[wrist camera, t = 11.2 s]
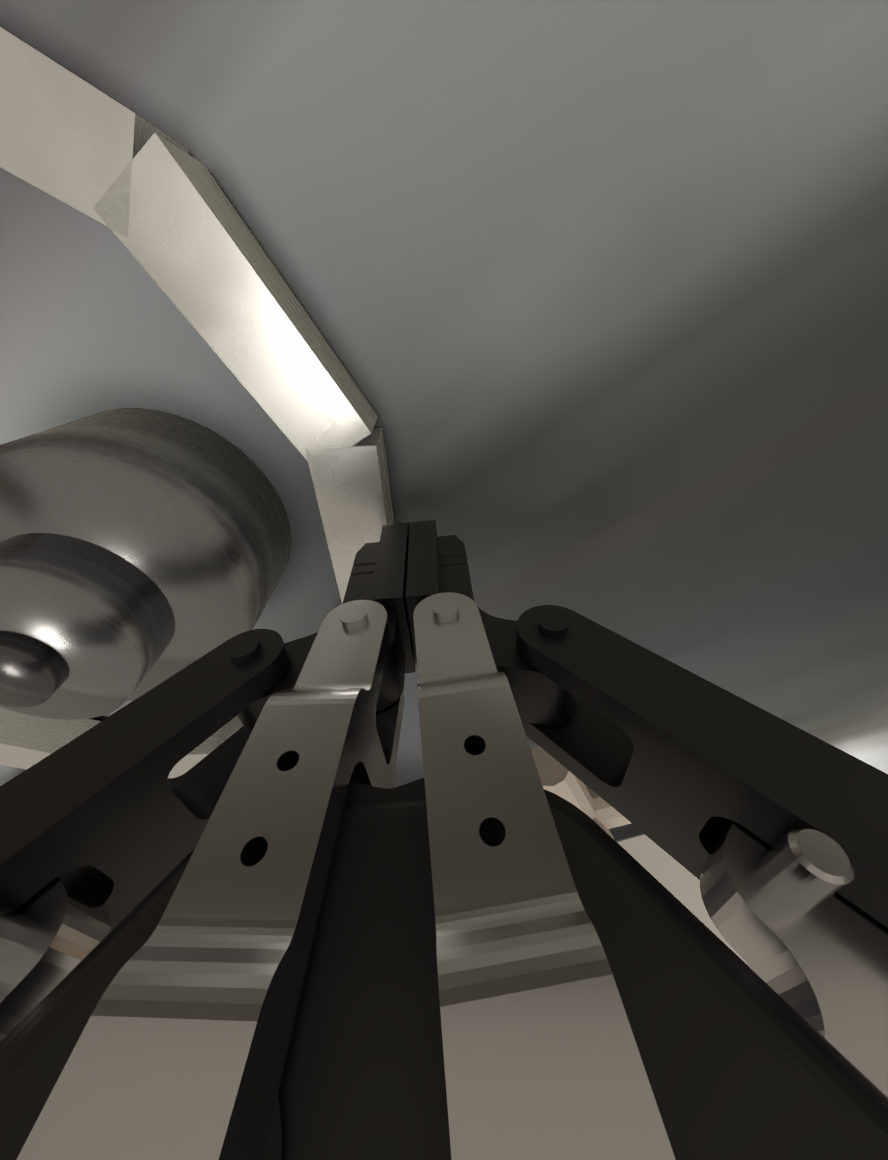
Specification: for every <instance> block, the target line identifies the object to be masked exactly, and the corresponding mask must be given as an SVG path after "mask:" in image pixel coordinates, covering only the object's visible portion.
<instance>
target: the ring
mask: <svg viewBox="0 0 888 1160" xmlns="http://www.w3.org/2000/svg"><path fill="white" fill-rule="evenodd" d="M0 167H1V168H2V169H4V170H6V171H8V172H10V173H12V174H13V175H15V176H17V177H19V178H21V179H22V180H24V181H26V182H28V183H30V184H31V185H33V186H35V187H37V188H39V189H40V190H42V191H44V192H46V193H48V194H49V195H51V196H53V197H55V198H57V199H59V200H60V201H62V202H64V203H66V204H68V205H69V206H71V207H73V208H75V209H77V210H78V211H80V212H82V213H84V214H86V215H87V216H89V217H91V218H93V219H95V220H96V221H98V222H100V223H102V224H104V225H106V226H107V227H109V228H110V229H111V230H112V231H113V233H114V234H115V235H116V236H117V237H118V238H119V240H120V241H121V242H122V243H123V244H124V246H125V247H126V248H127V249H128V250H129V251H130V253H131V254H132V255H133V256H134V257H135V259H136V260H137V261H138V262H139V263H140V264H141V266H142V267H143V268H144V269H145V270H146V271H147V273H148V274H149V275H150V276H151V277H152V279H153V280H154V281H155V282H156V283H157V284H158V286H159V287H160V288H161V289H162V290H163V292H164V293H165V294H166V295H167V296H168V297H169V299H170V300H171V301H172V302H173V303H174V304H175V306H176V307H177V308H178V309H179V310H180V312H181V313H182V314H183V315H184V316H185V317H186V319H187V320H188V321H189V322H190V323H191V324H192V326H193V327H194V328H195V329H196V330H197V332H198V333H199V334H200V335H201V336H202V337H203V339H204V340H205V341H206V342H207V343H208V345H209V346H210V347H211V348H212V349H213V350H214V352H215V353H216V354H217V355H218V356H219V357H220V359H221V360H222V361H223V362H224V363H225V365H226V366H227V367H228V368H229V369H230V370H231V372H232V373H233V374H234V375H235V376H236V378H237V379H238V380H239V381H240V382H241V383H242V385H243V386H244V387H245V388H246V389H247V390H248V392H249V393H250V394H251V395H252V396H253V398H254V399H255V400H256V401H257V402H258V403H259V405H260V406H261V407H262V408H263V409H264V411H265V412H266V413H267V414H268V415H269V416H270V418H271V419H272V420H273V421H274V422H275V423H276V425H277V426H278V427H279V428H280V429H281V431H282V432H283V433H284V434H285V435H286V436H287V438H288V439H289V440H290V441H291V442H292V444H293V445H294V446H295V447H296V448H297V449H298V451H299V452H300V453H301V454H302V455H303V456H304V458H305V459H306V460H307V461H308V464H309V469H310V473H311V477H312V481H313V485H314V489H315V494H316V498H317V502H318V506H319V510H320V514H321V519H322V523H323V527H324V531H325V535H326V539H327V544H328V548H329V552H330V556H331V560H332V564H333V568H334V573H335V577H336V581H337V585H338V589H339V593H340V598H341V602H342V603H343V600H344V596H345V592H346V589H347V585H348V581H349V578H350V576H351V570H352V567H353V563H354V559H355V556H356V553H357V552H358V551H359V550H360V549H361V548H362V547H363V546H364V545H365V544H366V543H373V542H380V536H381V531H382V526H383V525H385V524H394V516H393V508H392V500H391V492H390V484H389V476H388V468H387V460H386V452H385V444H384V436H383V428H374V425H375V423H376V421H377V418H378V415H377V414H376V413H375V411H374V410H373V408H372V407H371V405H370V404H369V402H368V401H367V400H366V398H365V397H364V395H363V394H362V392H361V391H360V389H359V388H358V386H357V385H356V384H355V382H354V381H353V379H352V378H351V376H350V375H349V373H348V372H347V371H346V369H345V368H344V366H343V365H342V363H341V362H340V360H339V359H338V358H337V356H336V355H335V353H334V352H333V350H332V349H331V347H330V346H329V345H328V343H327V342H326V340H325V339H324V337H323V336H322V334H321V333H320V332H319V330H318V329H317V327H316V326H315V324H314V323H313V321H312V320H311V319H310V317H309V316H308V314H307V313H306V311H305V310H304V308H303V307H302V306H301V304H300V303H299V301H298V300H297V298H296V297H295V295H294V294H293V293H292V291H291V290H290V288H289V287H288V285H287V284H286V282H285V281H284V280H283V278H282V277H281V275H280V274H279V272H278V271H277V269H276V268H275V267H274V265H273V264H272V262H271V261H270V259H269V258H268V256H267V255H266V254H265V252H264V251H263V249H262V248H261V246H260V245H259V243H258V242H257V241H256V239H255V238H254V236H253V235H252V233H251V232H250V230H249V229H248V228H247V226H246V225H245V223H244V222H243V220H242V219H241V217H240V216H239V215H238V213H237V212H236V210H235V209H234V207H233V206H232V204H231V203H230V201H229V200H228V199H227V197H226V196H225V194H224V193H223V191H222V190H221V188H220V187H219V186H218V184H217V183H216V181H215V180H214V178H213V177H212V175H211V174H210V173H209V171H208V170H207V168H206V167H205V165H204V164H203V163H201V162H200V161H198V160H197V159H195V158H194V157H192V156H190V155H189V154H188V148H186V147H185V146H183V145H182V144H180V143H179V142H177V141H176V140H174V139H173V138H171V137H170V136H168V135H167V134H165V133H164V132H162V131H161V130H159V129H158V128H156V127H155V126H153V125H152V124H150V123H149V122H147V121H146V120H144V119H143V118H141V117H140V116H138V115H137V114H135V113H134V112H132V111H131V110H129V109H128V108H126V107H125V106H123V105H121V104H120V103H118V102H117V101H115V100H114V99H112V98H110V97H109V96H107V95H106V94H104V93H103V92H101V91H100V90H98V89H96V88H95V87H93V86H92V85H90V84H89V83H87V82H85V81H84V80H82V79H81V78H79V77H78V76H76V75H75V74H73V73H71V72H70V71H68V70H67V69H65V68H64V67H62V66H61V65H59V64H57V63H56V62H54V61H53V60H51V59H50V58H48V57H46V56H45V55H43V54H42V53H40V52H39V51H37V50H36V49H34V48H32V47H31V46H29V45H28V44H26V43H25V42H23V41H21V40H20V39H18V38H17V37H15V36H14V35H12V34H11V33H9V32H7V31H6V30H4V29H3V28H1V27H0ZM100 722H101V721H97V720H92V719H75V720H65V719H51V718H43V717H38V716H32V715H27V714H23V713H19V712H15V711H12V710H9V709H5V708H2V707H0V765H5V766H11V767H16V768H22V769H28V768H30V767H32V766H33V765H35V764H36V763H38V762H39V761H41V760H42V759H44V758H45V757H47V756H49V755H50V754H52V753H53V752H55V751H56V750H58V749H59V748H61V747H63V746H64V745H66V744H67V743H69V742H70V741H72V740H73V739H75V738H77V737H78V736H80V735H81V734H83V733H84V732H86V731H87V730H89V729H91V728H92V727H94V726H95V725H97V724H98V723H100ZM242 726H243V724H242V723H241V721H240V719H239V718H238V716H236V717H234V718H233V719H232V720H231V721H229V722H228V723H227V724H225V725H224V726H223V727H222V728H220V729H219V730H218V731H217V732H215V733H214V734H213V735H212V736H210V737H209V738H208V739H206V740H205V741H204V742H203V743H201V744H200V745H199V746H198V747H196V748H195V749H194V750H193V751H191V752H190V753H189V754H187V755H186V756H185V757H184V758H182V759H181V760H180V761H179V762H178V763H177V764H176V765H175V766H174V767H173V769H172V770H171V772H170V773H169V776H168V778H176V777H179V776H181V775H183V774H184V773H186V772H187V771H189V770H190V769H191V768H192V767H194V766H195V765H196V764H197V763H198V762H200V761H201V760H202V759H203V758H205V757H206V756H207V755H208V754H209V753H211V752H212V751H213V750H214V749H216V748H217V747H218V746H219V745H220V744H222V743H223V742H224V741H225V740H227V739H228V738H229V737H230V736H231V735H233V734H234V733H235V732H236V731H238V730H239V729H240V728H241V727H242Z"/></svg>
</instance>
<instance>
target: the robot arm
mask: <svg viewBox="0 0 888 1160" xmlns="http://www.w3.org/2000/svg"><path fill="white" fill-rule="evenodd" d="M415 662H416V663H417V669H418V678H419V684H417V691H418V705H419V717H420V730H421V743H422V755H423V768H424V778H422V779H419V780H416V781H413V782H410V783H408V784H405V785H402V786H399V787H396V788H395V787H394V776H395V766H396V759H397V751H398V744H399V737H400V729H401V722H402V715H403V708H404V694H403V689H404V677H405V673H411V672H415ZM236 716H238V718H239V719H240V721H241V723H242V724H243V726H242V727H241V728H240V729H239V730H238V731H236V732H235V733H234V734H233V735H231V736H230V737H229V738H228V739H227V740H225V741H224V742H223V743H222V744H220V745H219V746H218V747H217V748H216V749H214V750H213V751H212V752H211V753H209V754H208V755H207V756H206V757H205V758H203V759H202V760H201V761H200V762H198V763H197V764H196V765H195V766H194V767H192V768H191V769H190V770H189V771H187V772H186V773H184V774H183V775H181V776H179V777H176V778H168V776H169V773H170V772H171V770H172V769H173V767H174V766H175V765H176V764H177V763H178V762H179V761H180V760H181V759H182V758H184V757H185V756H186V755H187V754H189V753H190V752H191V751H193V750H194V749H195V748H196V747H198V746H199V745H200V744H201V743H203V742H204V741H205V740H206V739H208V738H209V737H210V736H212V735H213V734H214V733H215V732H217V731H218V730H219V729H220V728H222V727H223V726H224V725H225V724H227V723H228V722H229V721H231V720H232V719H233V718H234V717H236ZM526 735H527V736H528V737H529V738H530V739H531V740H533V741H534V742H535V743H536V744H537V745H539V746H540V747H541V748H542V749H543V750H545V751H546V752H547V753H548V754H549V755H551V756H552V757H553V758H554V759H555V760H557V761H558V762H559V763H560V764H561V765H563V766H564V767H565V768H566V769H567V770H569V771H570V772H571V773H572V774H573V775H575V776H576V777H577V778H578V779H579V780H581V781H582V782H583V783H584V784H585V785H587V786H588V787H589V788H590V789H591V790H593V791H594V792H595V793H596V794H597V795H599V796H600V797H601V798H602V799H603V800H605V801H606V802H607V803H608V804H609V805H611V806H612V807H613V808H614V809H615V810H617V811H618V812H619V813H620V814H621V815H622V816H624V817H625V818H626V819H627V820H628V821H630V822H631V823H632V824H633V825H634V826H636V827H637V828H638V829H639V830H640V831H642V832H643V833H644V834H645V835H646V836H648V837H649V838H650V839H651V840H653V841H654V842H655V843H656V844H657V845H658V846H660V847H661V848H662V849H663V850H665V851H666V852H667V853H668V854H669V855H671V856H672V857H673V858H674V859H675V860H676V861H678V862H679V863H680V864H681V865H683V866H684V867H685V868H686V869H687V870H688V871H690V872H691V873H692V874H693V875H694V876H696V877H697V878H698V879H699V880H700V889H701V895H702V899H703V902H704V905H705V907H706V910H707V912H708V914H709V916H710V918H711V920H712V921H713V923H714V925H715V926H716V928H717V929H718V931H719V932H720V933H721V934H722V936H723V937H724V938H725V940H726V941H727V942H728V943H729V944H730V945H731V946H732V947H733V948H734V949H735V950H736V951H737V952H738V954H739V955H740V956H742V958H743V959H744V960H745V961H746V963H747V964H748V965H749V966H748V965H747V964H745V963H744V962H743V961H742V960H741V959H740V958H739V957H738V956H737V955H736V954H735V953H734V952H733V951H732V950H731V949H729V948H728V947H727V946H726V945H725V944H724V943H723V942H722V941H721V940H720V939H719V938H718V937H717V936H716V935H715V934H714V933H712V932H711V931H710V930H709V929H708V928H707V927H706V926H705V925H704V924H703V923H702V922H701V921H700V920H698V918H697V917H695V915H693V914H692V913H691V912H690V911H689V910H688V909H687V908H686V907H685V906H684V905H683V904H682V903H681V902H680V901H679V900H678V899H676V898H675V897H674V896H673V895H672V894H671V893H670V892H669V891H668V890H667V889H666V888H665V887H664V886H663V885H662V884H661V883H659V882H658V881H657V880H656V879H655V878H654V877H653V876H652V875H651V874H650V873H649V872H648V871H647V870H646V869H645V868H644V867H642V866H641V865H640V864H639V863H638V862H637V861H636V860H635V859H634V858H633V857H632V856H631V855H630V854H629V853H628V852H627V851H626V850H624V849H623V848H622V847H621V846H620V845H619V844H618V843H617V842H616V841H615V840H614V839H613V838H612V837H611V836H610V835H609V834H607V833H606V832H605V831H604V830H603V829H602V828H601V827H600V826H599V825H598V824H597V823H596V822H595V821H594V820H592V819H591V818H590V817H589V816H588V815H587V814H585V813H584V812H583V811H581V810H580V809H579V808H577V807H576V806H575V805H573V804H572V803H570V802H568V801H567V800H565V799H563V798H562V797H560V796H558V795H556V794H554V793H552V792H550V791H548V790H545V789H543V786H542V783H541V780H540V776H539V773H538V770H537V767H536V764H535V761H534V758H533V755H532V752H531V749H530V746H529V743H528V740H527V737H526ZM0 1160H888V774H886V773H884V772H882V771H880V770H878V769H876V768H874V767H872V766H870V765H869V764H867V763H865V762H863V761H861V760H859V759H857V758H855V757H853V756H851V755H849V754H847V753H845V752H844V751H842V750H840V749H838V748H836V747H834V746H832V745H830V744H828V743H826V742H824V741H822V740H820V739H819V738H817V737H815V736H813V735H811V734H809V733H807V732H805V731H803V730H801V729H799V728H797V727H795V726H794V725H792V724H790V723H788V722H786V721H784V720H782V719H780V718H778V717H776V716H774V715H772V714H770V713H768V712H767V711H765V710H763V709H761V708H759V707H757V706H755V705H753V704H751V703H749V702H747V701H745V700H743V699H742V698H740V697H738V696H736V695H734V694H732V693H730V692H728V691H726V690H724V689H722V688H720V687H718V686H717V685H715V684H713V683H711V682H709V681H707V680H705V679H703V678H701V677H699V676H697V675H695V674H693V673H692V672H690V671H688V670H686V669H684V668H682V667H680V666H678V665H676V664H674V663H672V662H670V661H668V660H667V659H665V658H663V657H661V656H659V655H657V654H655V653H653V652H651V651H649V650H647V649H645V648H643V647H641V646H640V645H638V644H636V643H634V642H632V641H630V640H628V639H626V638H624V637H622V636H620V635H618V634H616V633H615V632H613V631H611V630H609V629H607V628H605V627H603V626H601V625H599V624H597V623H595V622H593V621H591V620H590V619H588V618H586V617H584V616H582V615H580V614H578V613H576V612H574V611H572V610H570V609H567V608H564V607H560V606H553V605H543V606H537V607H533V608H531V609H529V610H527V611H525V612H524V613H523V614H522V615H521V616H520V617H519V619H518V621H513V620H506V619H501V618H496V617H493V616H491V615H489V614H487V613H485V612H483V611H482V610H481V609H480V608H479V607H478V606H477V604H476V603H475V601H474V598H473V592H472V587H471V581H470V575H469V569H468V564H467V558H466V552H465V546H464V543H463V542H462V541H461V540H460V539H459V538H457V537H456V536H455V535H452V536H441V537H437V531H436V521H435V520H429V521H418V522H410V526H409V523H396V524H385V525H383V526H382V531H381V536H380V542H373V543H366V544H365V545H364V546H363V547H362V548H361V549H360V550H359V551H358V552H357V553H356V556H355V559H354V563H353V567H352V570H351V576H350V578H349V581H348V585H347V589H346V592H345V596H344V600H343V603H342V604H341V605H339V606H337V607H336V608H334V609H333V610H331V611H330V612H329V613H328V614H327V615H326V617H325V618H324V620H323V622H322V624H321V626H320V629H319V631H318V632H317V633H315V634H313V635H310V636H307V637H304V638H300V639H297V640H294V641H291V642H288V643H284V642H283V639H282V637H281V636H280V634H278V633H277V632H275V631H273V630H269V629H255V630H250V631H246V632H243V633H241V634H238V635H236V636H234V637H232V638H230V639H229V640H227V641H226V642H224V643H222V644H221V645H219V646H218V647H216V648H215V649H213V650H212V651H210V652H208V653H207V654H205V655H204V656H202V657H201V658H199V659H198V660H196V661H194V662H193V663H191V664H190V665H188V666H187V667H185V668H184V669H182V670H181V671H179V672H177V673H176V674H174V675H173V676H171V677H170V678H168V679H167V680H165V681H163V682H162V683H160V684H159V685H157V686H156V687H154V688H153V689H151V690H149V691H148V692H146V693H145V694H143V695H142V696H140V697H139V698H137V699H136V700H134V701H132V702H131V703H129V704H128V705H126V706H125V707H123V708H122V709H120V710H118V711H117V712H115V713H114V714H112V715H111V716H109V717H108V718H106V719H104V720H103V721H101V722H100V723H98V724H97V725H95V726H94V727H92V728H91V729H89V730H87V731H86V732H84V733H83V734H81V735H80V736H78V737H77V738H75V739H73V740H72V741H70V742H69V743H67V744H66V745H64V746H63V747H61V748H59V749H58V750H56V751H55V752H53V753H52V754H50V755H49V756H47V757H45V758H44V759H42V760H41V761H39V762H38V763H36V764H35V765H33V766H32V767H30V768H28V769H27V770H25V771H24V772H22V773H21V774H19V775H18V776H16V777H14V778H13V779H11V780H10V781H8V782H7V783H5V784H4V785H2V786H0Z"/></svg>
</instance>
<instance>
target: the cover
mask: <svg viewBox="0 0 888 1160" xmlns="http://www.w3.org/2000/svg"><path fill="white" fill-rule="evenodd" d="M290 547H291V535H290V526H289V522H288V519H287V515H286V512H285V509H284V507H283V505H282V502H281V500H280V498H279V496H278V495H277V493H276V491H275V489H274V487H273V486H272V485H271V483H270V482H269V480H268V479H267V478H266V476H265V475H264V474H263V473H262V471H261V470H260V469H259V468H258V467H257V466H256V465H255V464H254V462H253V461H251V460H250V459H249V458H248V457H247V456H246V455H245V454H244V453H243V452H242V451H241V450H239V449H238V448H237V447H235V446H234V445H233V444H231V443H230V442H229V441H227V440H226V439H225V438H223V437H221V436H220V435H218V434H216V433H215V432H213V431H212V430H210V429H208V428H206V427H204V426H202V425H200V424H198V423H195V422H193V421H191V420H188V419H185V418H183V417H180V416H177V415H174V414H170V413H166V412H162V411H157V410H150V409H141V408H122V409H115V410H109V411H104V412H101V413H98V414H95V415H92V416H89V417H86V418H83V419H80V420H77V421H74V422H70V423H67V424H64V425H61V426H58V427H55V428H52V429H49V430H46V431H43V432H39V433H36V434H33V435H30V436H27V437H24V438H21V439H18V440H15V441H12V442H9V443H5V444H2V445H0V707H2V708H5V709H9V710H12V711H15V712H19V713H23V714H27V715H32V716H38V717H43V718H51V719H65V720H75V719H88V718H94V717H99V716H103V715H105V714H108V713H111V712H112V711H114V710H116V709H118V708H119V707H120V706H122V705H123V704H124V703H125V701H126V700H136V699H137V698H139V697H140V696H142V695H143V694H145V693H146V692H148V691H149V690H151V689H153V688H154V687H156V686H157V685H159V684H160V683H162V682H163V681H165V680H167V679H168V678H170V677H171V676H173V675H174V674H176V673H177V672H179V671H181V670H182V669H184V668H185V667H187V666H188V665H190V664H191V663H193V662H194V661H196V660H198V659H199V658H201V657H202V656H204V655H205V654H207V653H208V652H210V651H212V650H213V649H215V648H216V647H218V646H219V645H221V644H222V643H224V642H226V641H227V640H229V639H230V638H232V637H234V636H236V635H238V634H241V633H243V632H246V631H250V630H252V629H253V628H254V626H255V624H256V622H257V620H258V618H259V616H260V614H261V613H262V611H263V609H264V607H265V605H266V603H267V601H268V600H269V598H270V596H271V594H272V592H273V590H274V588H275V586H276V585H277V583H278V581H279V579H280V577H281V575H282V573H283V571H284V569H285V567H286V564H287V562H288V559H289V554H290Z"/></svg>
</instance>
